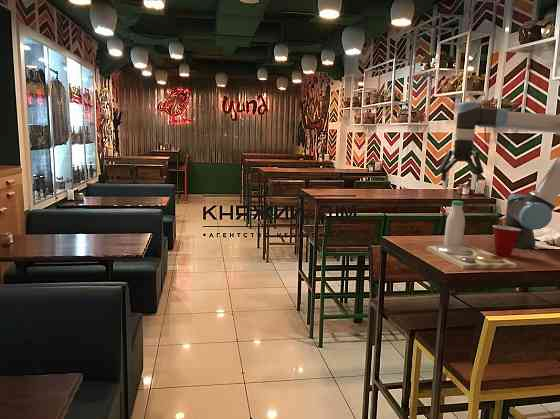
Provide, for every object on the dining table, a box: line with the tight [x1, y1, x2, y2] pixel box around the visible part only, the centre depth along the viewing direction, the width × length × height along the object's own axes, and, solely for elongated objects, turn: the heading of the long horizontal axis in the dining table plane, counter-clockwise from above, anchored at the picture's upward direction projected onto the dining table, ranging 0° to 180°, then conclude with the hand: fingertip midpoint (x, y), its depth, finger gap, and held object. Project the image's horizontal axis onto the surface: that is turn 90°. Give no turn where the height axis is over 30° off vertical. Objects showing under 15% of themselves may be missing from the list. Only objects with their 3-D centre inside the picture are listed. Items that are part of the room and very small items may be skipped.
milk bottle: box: [443, 200, 466, 246], centre depth 207 cm, size 8×8×20 cm
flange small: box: [461, 257, 475, 263], centre depth 179 cm, size 5×5×1 cm
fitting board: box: [425, 245, 518, 270], centre depth 189 cm, size 22×28×2 cm
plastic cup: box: [492, 224, 521, 257], centre depth 196 cm, size 11×11×12 cm
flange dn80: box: [475, 254, 504, 263], centre depth 182 cm, size 10×10×1 cm
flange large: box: [435, 244, 473, 255], centre depth 194 cm, size 14×14×1 cm
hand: (458, 189), depth 205 cm, fingers open, 13 cm apart
